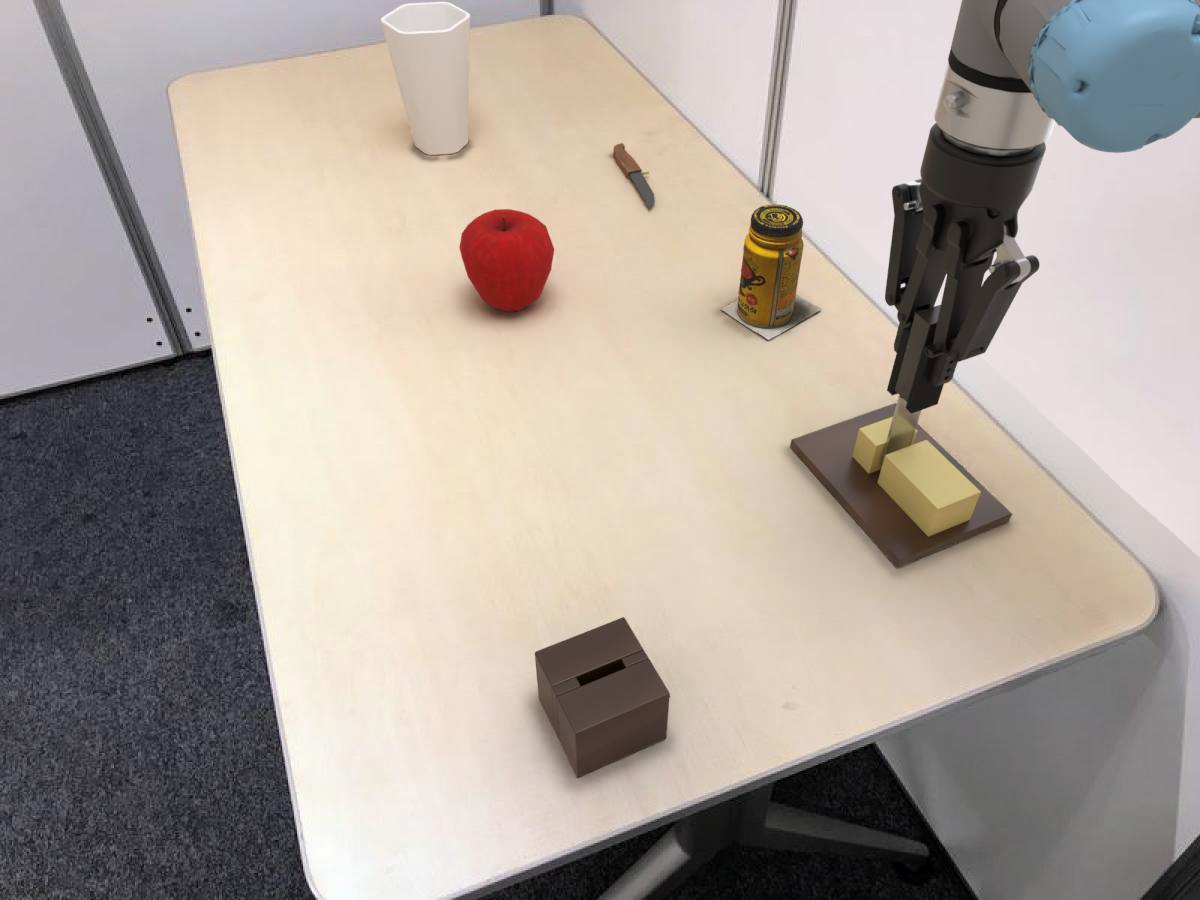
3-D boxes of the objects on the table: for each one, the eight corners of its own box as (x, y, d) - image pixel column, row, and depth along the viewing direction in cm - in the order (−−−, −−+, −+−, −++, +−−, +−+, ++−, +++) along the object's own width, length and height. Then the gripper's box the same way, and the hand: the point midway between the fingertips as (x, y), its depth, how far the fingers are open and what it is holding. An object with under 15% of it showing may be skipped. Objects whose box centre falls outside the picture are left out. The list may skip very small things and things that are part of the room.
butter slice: (909, 458, 88) (917, 430, 85) (868, 474, 86) (876, 446, 84) (892, 441, 89) (900, 413, 87) (852, 456, 88) (859, 428, 86)
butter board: (1009, 521, 84) (1012, 513, 83) (896, 568, 80) (899, 560, 79) (893, 410, 94) (896, 402, 93) (789, 447, 90) (791, 439, 90)
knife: (672, 200, 120) (649, 204, 120) (672, 208, 121) (649, 212, 120) (628, 141, 132) (608, 144, 131) (628, 148, 132) (608, 151, 132)
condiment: (719, 310, 106) (729, 213, 97) (773, 281, 110) (787, 186, 101) (768, 341, 102) (782, 243, 93) (822, 311, 106) (840, 214, 97)
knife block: (666, 738, 69) (670, 693, 65) (577, 778, 67) (575, 734, 63) (623, 663, 74) (624, 616, 69) (538, 697, 71) (534, 651, 67)
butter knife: (912, 462, 86) (958, 315, 75) (887, 471, 85) (929, 325, 74) (899, 449, 87) (942, 303, 76) (874, 458, 86) (914, 312, 75)
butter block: (970, 519, 82) (981, 491, 80) (928, 537, 81) (938, 509, 79) (917, 467, 87) (926, 439, 85) (876, 482, 86) (884, 454, 83)
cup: (430, 120, 139) (413, -4, 127) (493, 132, 136) (481, 7, 124) (388, 154, 132) (366, 26, 120) (453, 168, 129) (438, 38, 117)
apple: (572, 295, 108) (569, 209, 100) (517, 338, 102) (510, 250, 95) (504, 267, 112) (497, 181, 105) (448, 306, 107) (436, 219, 99)
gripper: (875, 98, 68) (823, 359, 85) (1025, 194, 59) (933, 467, 75) (959, 78, 70) (893, 336, 87) (1117, 168, 61) (1008, 439, 77)
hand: (912, 396), depth 81 cm, fingers closed on butter knife, 2 cm apart
